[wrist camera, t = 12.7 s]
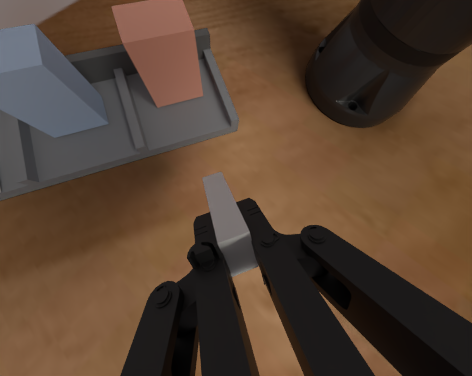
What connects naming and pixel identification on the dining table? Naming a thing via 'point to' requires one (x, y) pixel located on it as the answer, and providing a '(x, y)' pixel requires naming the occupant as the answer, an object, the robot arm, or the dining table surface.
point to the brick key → (161, 48)
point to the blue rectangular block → (45, 85)
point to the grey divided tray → (115, 123)
